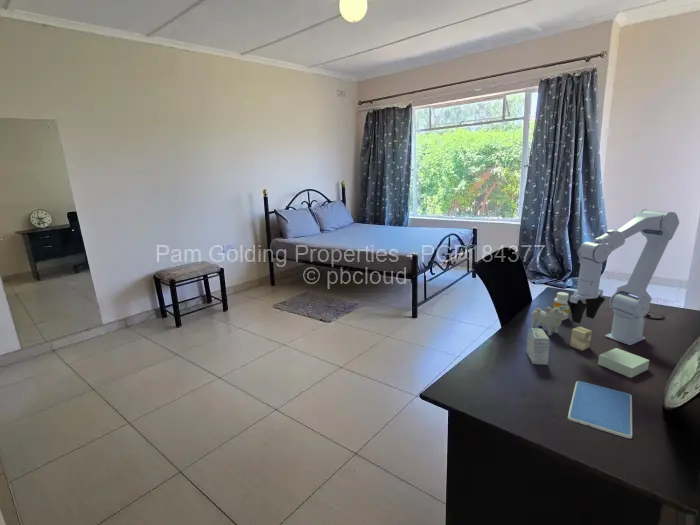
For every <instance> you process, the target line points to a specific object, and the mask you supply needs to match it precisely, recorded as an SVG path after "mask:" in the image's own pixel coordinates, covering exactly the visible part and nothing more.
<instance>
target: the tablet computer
mask: <svg viewBox="0 0 700 525" xmlns="http://www.w3.org/2000/svg"><path fill="white" fill-rule="evenodd" d="M567 419H568V420H569V421H571V422H574V423H577V424H581V425H582V426H583V425H584V426H587V427H591V428H593V429H597V430H600V431H602V432H607V433H609V434H613V435H616V436H619V437H623V438H625V439H632V438H633V395H632V394H630V393H627V392H624V391H619V390H616V389H612V388H608V387H605V386H600V385H597V384H592V383H589V382H585V381H581V380H577V381H576V382H575V386H574V389H573V393H572V398H571V400H570V404H569V410H568V415H567Z"/></svg>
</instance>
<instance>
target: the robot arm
mask: <svg viewBox="0 0 700 525" xmlns="http://www.w3.org/2000/svg"><path fill="white" fill-rule="evenodd" d="M679 225H680V219H679V216H678V215H677V213H676V212H675V211H661V210H652V209H645V208H643V209H641V210H639V211H638V212H636V213H634V216H633V218H632V219H631V220H629V221H628V222H627V223H626V224H624V225H622V226H621V227H620V228H618V229H608V230H606V232H605V233H603V234H601V235H600V236H597V237H596V238H594V240H592V241H588V240H587V241H584V242H582V243H581V245H580V246H579V248H578V249H577V252H576V253H577V256H578V259H579V260H578V262H579V264H580V266H579V274H578V278H577V279H578V280H577V288H576V289H573V294H572V295H569V298H567V299H568V300H567V303H568V305H569V311H570V314H571V319H572V322H573V323H576V324H581V322H582V319H583V314H584V312H585V316H586V318H590V319H592V320H593V319H594V318H595V317H596V315H597V313H598V310H599V309H600V307H601V306H602V304H604V302H605V300H606V298H605V297H603V295H604V294H603V293H604V289H599V288H600V283H601V282H600V281H601V275H602V269H603V264H604V263H603V262H605V261H607V259H608V258H609V256H610V255H611V254H612V252H614V251H615V250H617V249H619V248H620V247H622V246H623V245H625V244H626V239H628V238H630V237H632V236H634V235H636V234H637V233H641V234H642V236H644V237H645V239H646V243H645V245H644V247H643V249H642V251H641V253H640V256H639V257H638V260H637V262H636V264H635V267H634V268H633V270H632V273H631V275H630V277H629V279H628V280H627V283H626V284H624V285H621V286H619V287H617V288H616V290H615V292H614V293H613V294H612V295H611V296H610V298H609V307H610V308H612V312H614V314H613V320H612V326H611V332H610V333H607V334H605V335H604V336H605V337H606V338H609V339H612V340H614V341H616V342H620V343H623V344H625V345H628V346H631V345H634V344H637V343H638V342H640V341H643V340H646V338H645V336H643V333H644V332H643V331H644V326H645V318H644V317H645V316H646V315H647V314H648V312H649V310H650V306H651V305H650V304H651V301H652V299H653V298H652V296H650V294H649V293H648V291H647V288H648V286H649V284H650V282H651V280H652V278H653V276H654V274H655V271H656V270H657V268H658V265H659V263H660V261H661V259H662V256H663V254H664V253H665V251H666V249H667V247H668V244H669V242H670V241H671V240H672V239H673V238H674V236H675V234H676V231H677V229H678V227H679ZM583 301H585V303H584V302H583Z"/></svg>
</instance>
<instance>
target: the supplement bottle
mask: <svg viewBox="0 0 700 525" xmlns="http://www.w3.org/2000/svg"><path fill="white" fill-rule="evenodd" d="M569 298H570V295H569V293H568V292H563V291H559V292H557V293H556V297H555V298H554V299H553V300H554V301H553V308H552V309H554V308H556V307H560V306H562V307H563V308H562V310H563V311H564V312H565V313H566V314H568V315H569V314H570V307H569V305H568V303H567V300H568V299H569Z"/></svg>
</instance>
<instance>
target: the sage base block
mask: <svg viewBox="0 0 700 525" xmlns="http://www.w3.org/2000/svg"><path fill="white" fill-rule="evenodd" d="M597 359H598V361H597V365H599V366H601V367H603V368H607V369H608V370H611V371H613V372H616V373H618V374H621V375H623V376H625V377H626V378H630V379H631V378H633V377H634V378H635V377H636V376H637V375H640V374H642V373H643V372H645V371H647V370H649V364H650V359H647V358H645V357H642V356H640V355H637V354H634V353H631V352H630V351H629V352H628V351H626V350H622V349H620V348H617V347H615V348H612V349H610V350H608V351H605V352H603V353H600V354H599V355H598V358H597Z"/></svg>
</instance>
